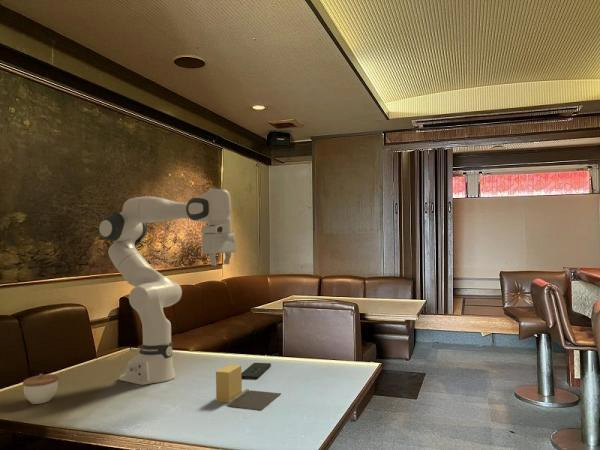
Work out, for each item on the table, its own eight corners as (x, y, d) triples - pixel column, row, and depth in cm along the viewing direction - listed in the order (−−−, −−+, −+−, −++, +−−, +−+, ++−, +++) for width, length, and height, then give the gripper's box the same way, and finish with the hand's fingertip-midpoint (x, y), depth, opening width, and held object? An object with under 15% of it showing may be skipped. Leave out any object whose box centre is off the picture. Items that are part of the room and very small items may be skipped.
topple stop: (225, 406, 145) (225, 403, 145) (247, 390, 160) (247, 388, 160) (261, 410, 140) (261, 407, 140) (280, 394, 155) (280, 391, 155)
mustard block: (216, 401, 150) (215, 371, 151) (229, 392, 159) (229, 364, 159) (229, 402, 148) (228, 372, 149) (241, 394, 157) (241, 365, 157)
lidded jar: (21, 408, 147) (21, 380, 148) (24, 399, 157) (24, 372, 157) (57, 402, 152) (57, 375, 153) (58, 393, 162) (58, 368, 162)
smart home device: (237, 375, 175) (253, 362, 195) (237, 379, 175) (253, 366, 195) (257, 376, 174) (271, 362, 193) (257, 380, 174) (271, 366, 193)
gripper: (226, 230, 181) (226, 263, 180) (198, 228, 162) (199, 266, 161) (240, 229, 179) (240, 263, 178) (213, 228, 159) (213, 266, 159)
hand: (220, 264), depth 169 cm, fingers open, 8 cm apart
